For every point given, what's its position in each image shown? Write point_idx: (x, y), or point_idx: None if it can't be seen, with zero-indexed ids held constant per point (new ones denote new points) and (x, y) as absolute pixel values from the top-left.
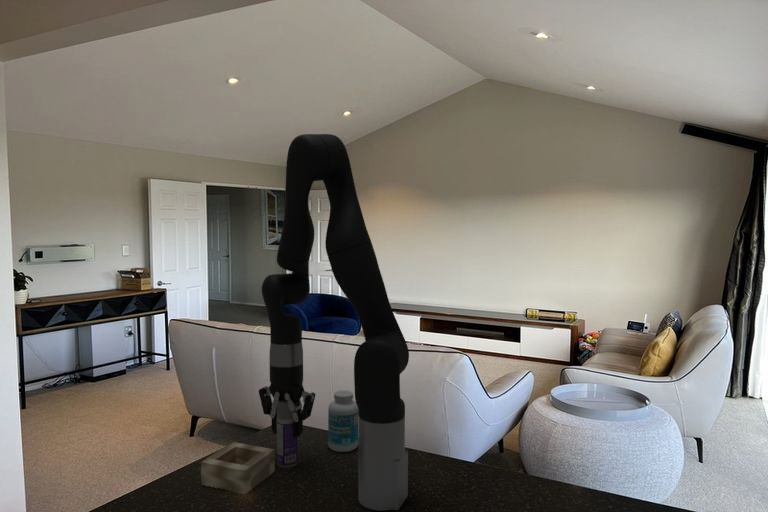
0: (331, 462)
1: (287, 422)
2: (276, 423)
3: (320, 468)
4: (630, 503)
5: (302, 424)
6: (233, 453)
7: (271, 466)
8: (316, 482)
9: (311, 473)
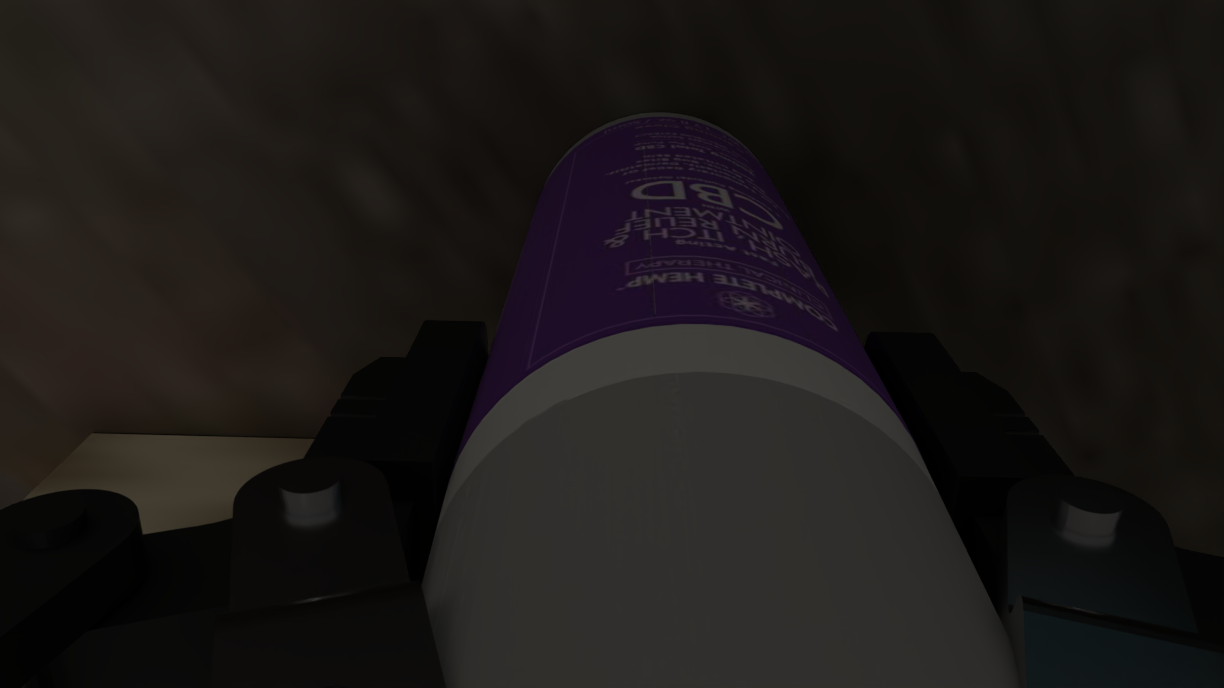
0: (1203, 10)
1: None
2: None
3: (1103, 215)
4: None
5: (1060, 471)
6: None
7: None
8: (1151, 501)
9: (1036, 356)
